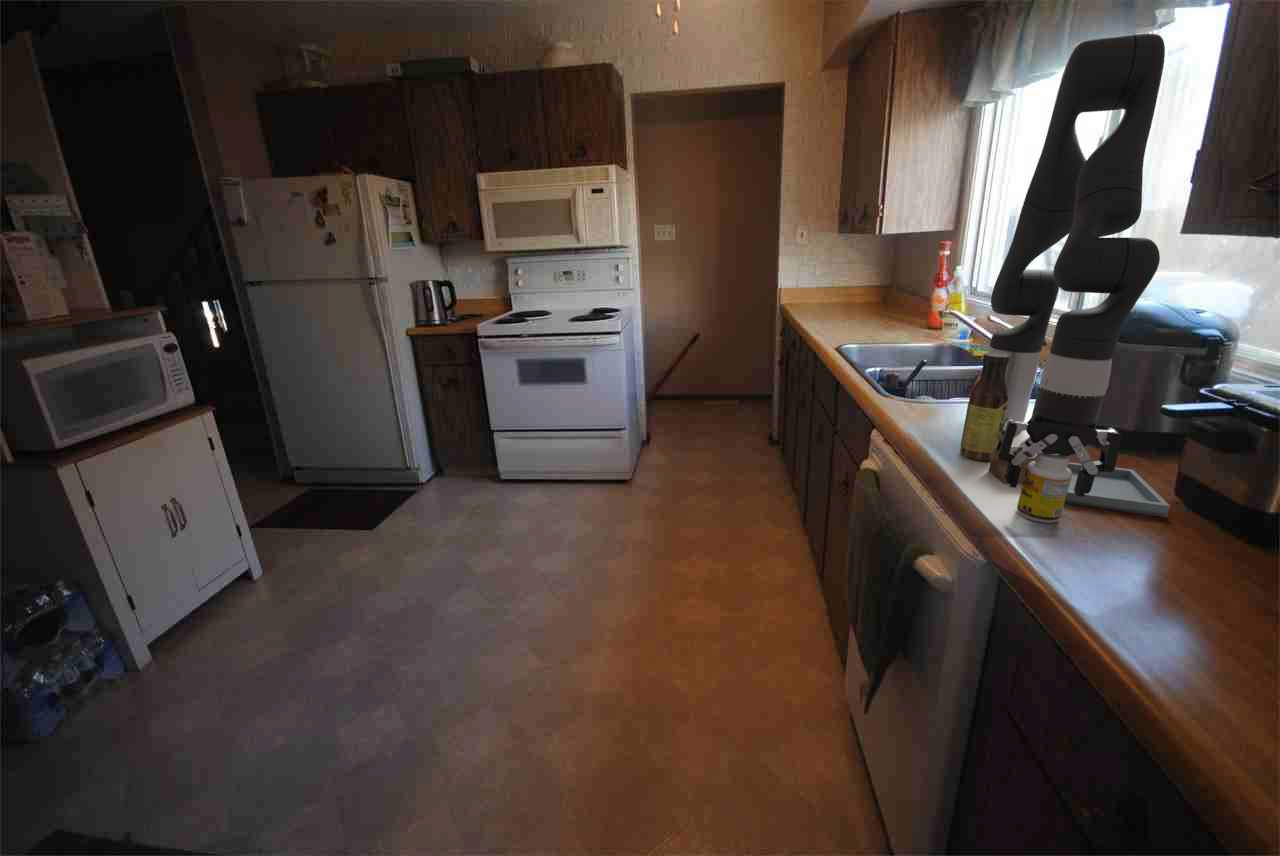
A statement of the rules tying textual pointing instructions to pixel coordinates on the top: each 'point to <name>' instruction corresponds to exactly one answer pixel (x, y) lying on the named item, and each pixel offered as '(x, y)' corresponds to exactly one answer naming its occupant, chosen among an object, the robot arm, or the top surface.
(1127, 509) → the tray
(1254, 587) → the top surface
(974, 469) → the top surface
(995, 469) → the walnut block
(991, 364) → the sauce bottle
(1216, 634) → the top surface
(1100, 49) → the robot arm
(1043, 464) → the supplement bottle
